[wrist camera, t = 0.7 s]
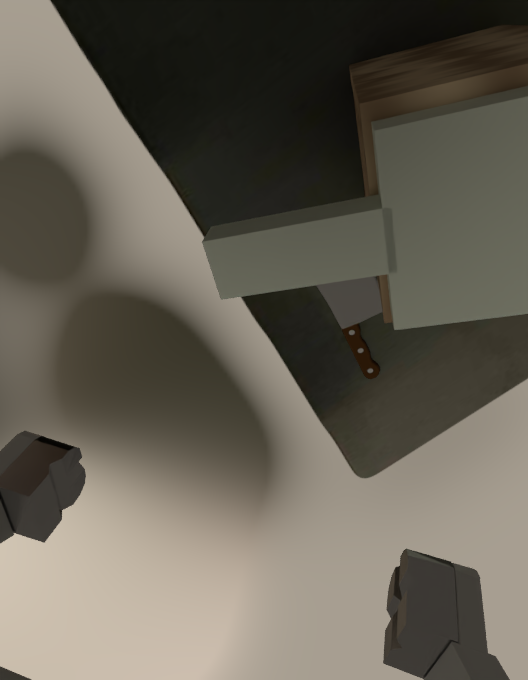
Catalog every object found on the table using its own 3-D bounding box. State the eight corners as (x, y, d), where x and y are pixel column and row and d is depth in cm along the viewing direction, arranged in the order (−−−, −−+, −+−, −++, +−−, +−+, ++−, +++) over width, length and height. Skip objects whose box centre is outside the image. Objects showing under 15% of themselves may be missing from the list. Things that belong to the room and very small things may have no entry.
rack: (365, 202, 53) (388, 348, 30) (348, 65, 46) (361, 113, 22) (496, 177, 50) (641, 319, 26) (502, 24, 42) (710, 31, 19)
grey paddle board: (243, 329, 34) (237, 349, 32) (191, 162, 27) (180, 174, 25) (581, 284, 29) (600, 304, 27) (613, 65, 22) (641, 70, 20)
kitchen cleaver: (421, 362, 64) (353, 385, 67) (420, 358, 65) (353, 381, 68) (356, 206, 53) (279, 241, 57) (356, 203, 54) (280, 238, 57)
